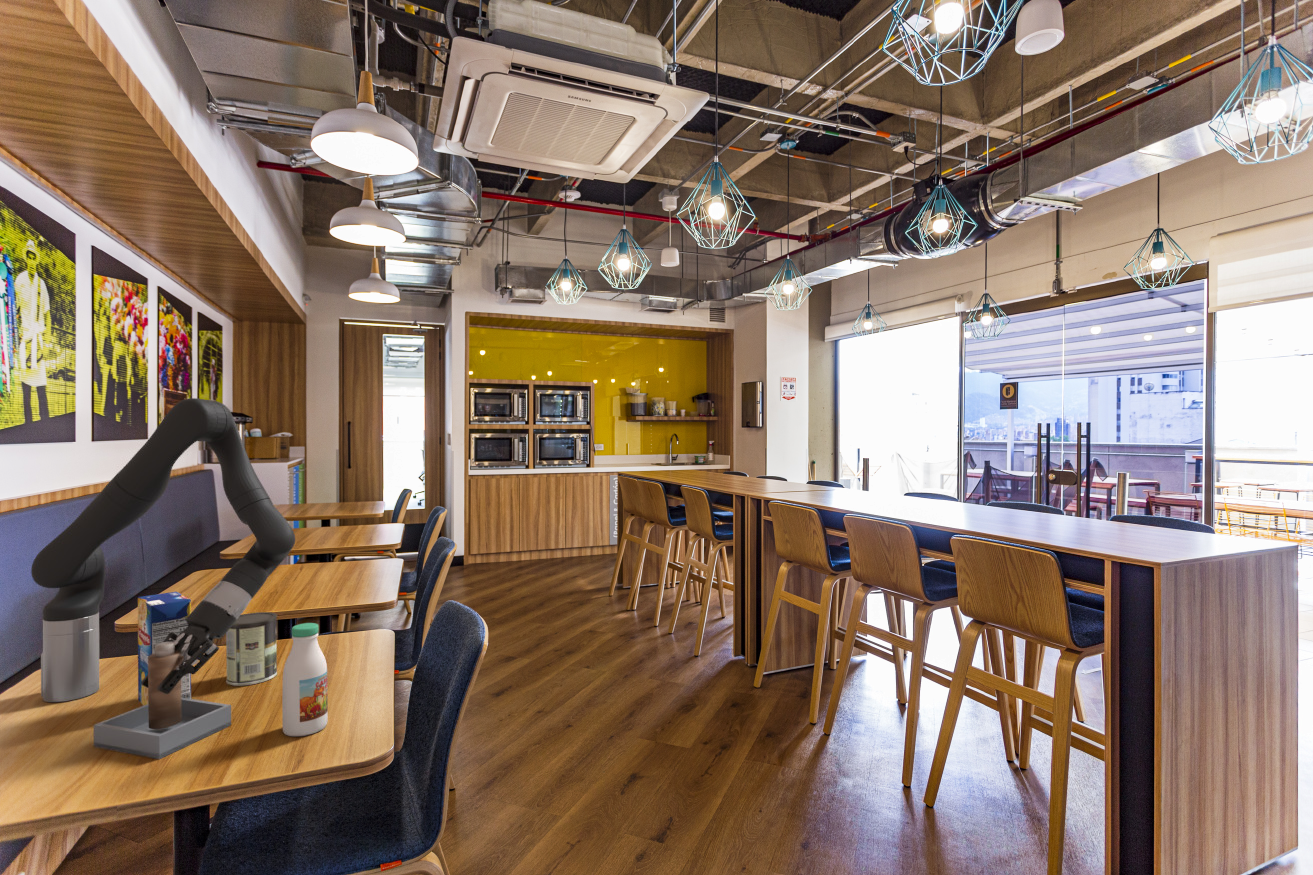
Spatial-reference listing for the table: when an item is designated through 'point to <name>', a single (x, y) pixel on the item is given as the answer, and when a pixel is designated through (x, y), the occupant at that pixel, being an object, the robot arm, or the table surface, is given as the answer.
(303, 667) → the milk bottle
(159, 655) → the brown bottle
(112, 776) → the table surface
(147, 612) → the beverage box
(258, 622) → the coffee can
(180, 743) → the grey bin
